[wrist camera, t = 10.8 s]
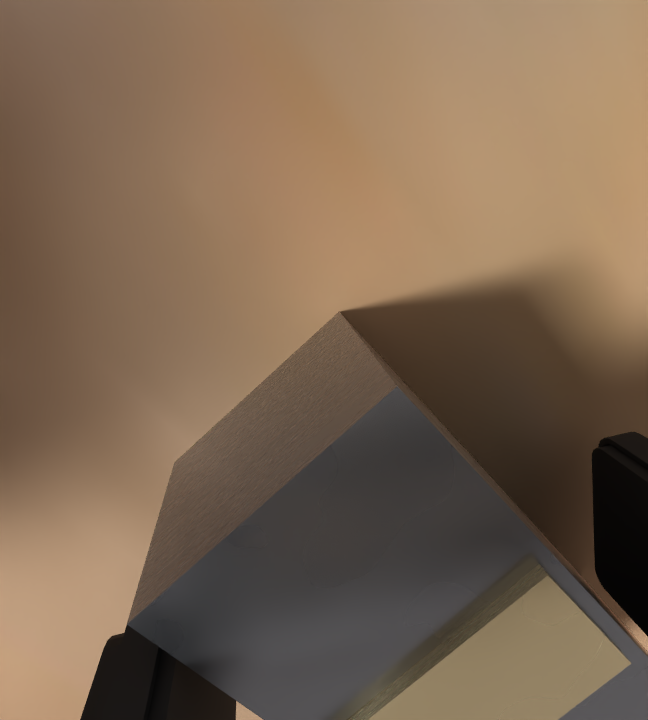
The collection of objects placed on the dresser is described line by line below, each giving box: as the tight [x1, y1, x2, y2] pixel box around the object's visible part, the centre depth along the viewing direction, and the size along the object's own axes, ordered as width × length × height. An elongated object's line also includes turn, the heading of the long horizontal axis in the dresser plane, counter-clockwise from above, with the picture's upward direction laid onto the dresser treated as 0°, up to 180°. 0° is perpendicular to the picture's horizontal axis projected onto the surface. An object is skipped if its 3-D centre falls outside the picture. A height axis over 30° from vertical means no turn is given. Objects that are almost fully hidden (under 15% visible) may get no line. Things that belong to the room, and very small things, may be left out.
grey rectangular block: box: [127, 312, 648, 720], centre depth 9 cm, size 4×8×4 cm, turn 42°
